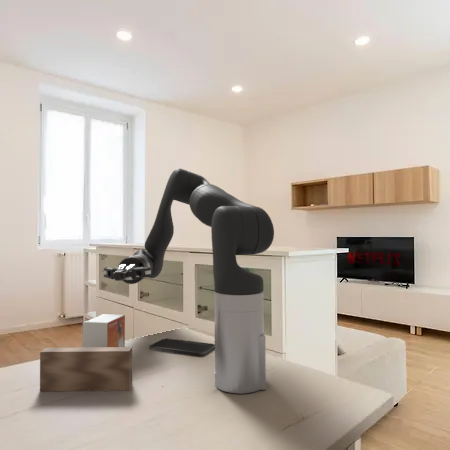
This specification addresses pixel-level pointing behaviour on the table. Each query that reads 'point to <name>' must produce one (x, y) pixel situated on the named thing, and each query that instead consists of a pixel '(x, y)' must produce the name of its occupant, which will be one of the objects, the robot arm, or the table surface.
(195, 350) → the phone
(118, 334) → the small box
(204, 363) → the table surface
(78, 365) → the walnut board
